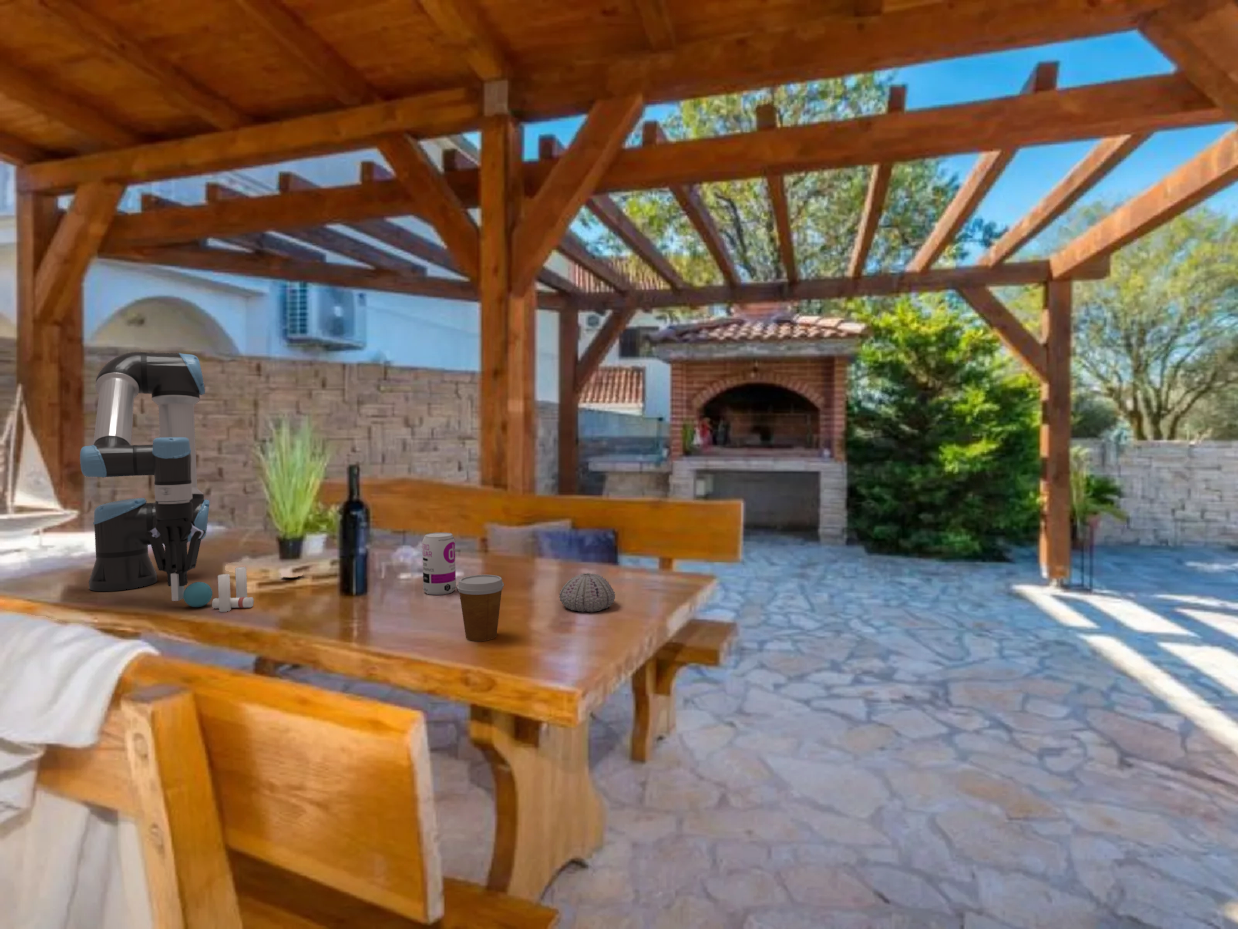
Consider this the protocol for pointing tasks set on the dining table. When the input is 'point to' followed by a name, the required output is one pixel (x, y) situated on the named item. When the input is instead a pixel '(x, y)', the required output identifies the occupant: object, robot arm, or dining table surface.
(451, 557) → the supplement can
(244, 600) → the front pin
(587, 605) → the sea urchin shell
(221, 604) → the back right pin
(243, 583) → the back left pin
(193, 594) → the ball
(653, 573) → the dining table surface
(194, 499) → the robot arm
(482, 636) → the disposable coffee cup
